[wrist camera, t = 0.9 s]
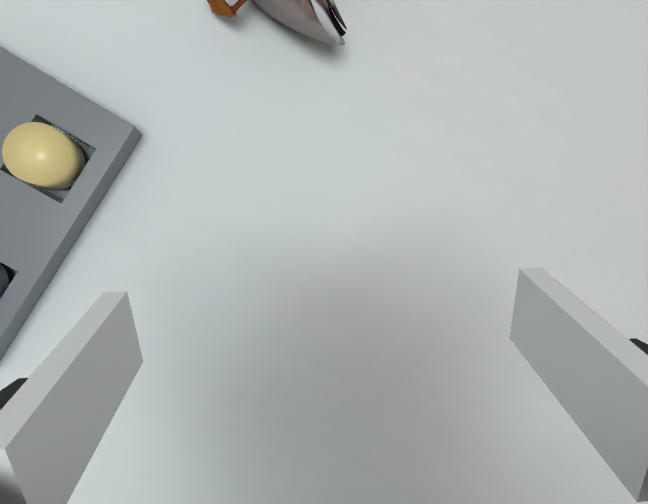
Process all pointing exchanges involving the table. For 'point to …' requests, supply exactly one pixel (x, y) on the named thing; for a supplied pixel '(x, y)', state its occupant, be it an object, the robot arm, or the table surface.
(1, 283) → the slate button
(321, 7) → the decorative duck model
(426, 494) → the table surface
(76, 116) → the button panel
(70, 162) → the ochre button
